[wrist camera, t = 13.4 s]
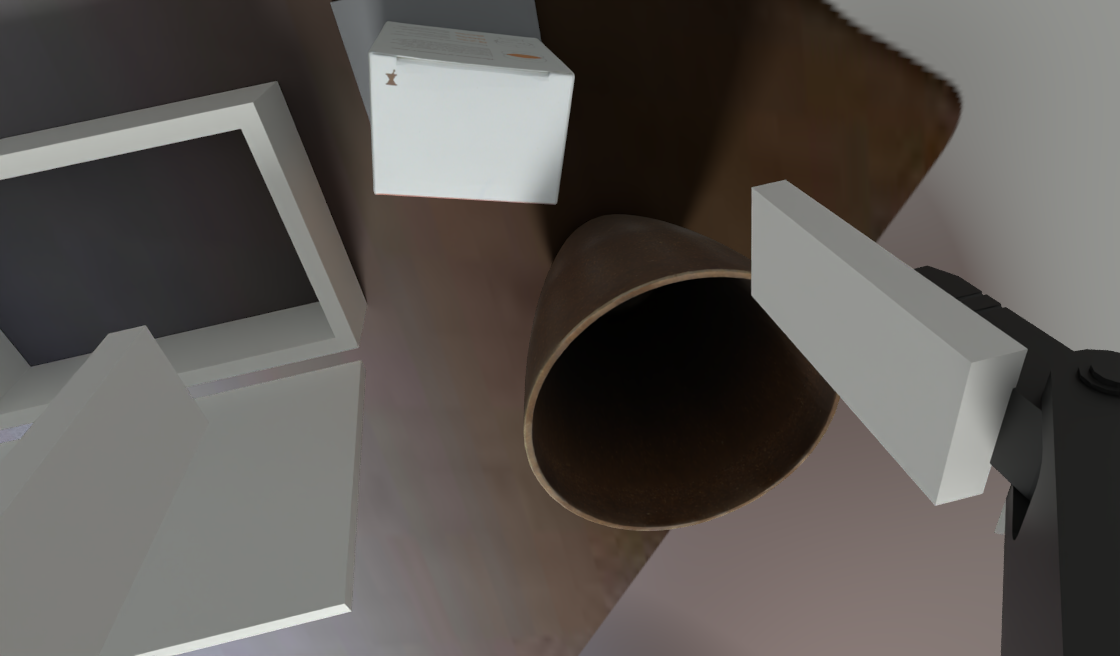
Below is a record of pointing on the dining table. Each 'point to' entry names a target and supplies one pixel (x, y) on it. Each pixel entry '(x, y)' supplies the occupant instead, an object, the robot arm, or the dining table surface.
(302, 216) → the white open tray
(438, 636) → the dining table surface
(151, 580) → the lid
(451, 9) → the gray mat
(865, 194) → the dining table surface
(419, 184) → the small box
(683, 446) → the plant pot
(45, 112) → the dining table surface
